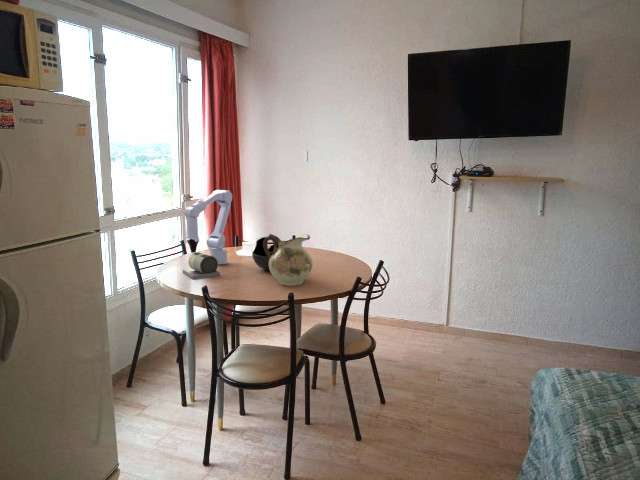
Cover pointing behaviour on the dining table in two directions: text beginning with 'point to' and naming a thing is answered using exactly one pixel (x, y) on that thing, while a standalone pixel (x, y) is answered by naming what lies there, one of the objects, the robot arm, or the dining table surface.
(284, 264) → the pitcher
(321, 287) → the dining table surface
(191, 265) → the coffee can
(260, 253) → the bowl of black rocks
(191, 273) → the tray
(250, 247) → the dish
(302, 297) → the dining table surface
